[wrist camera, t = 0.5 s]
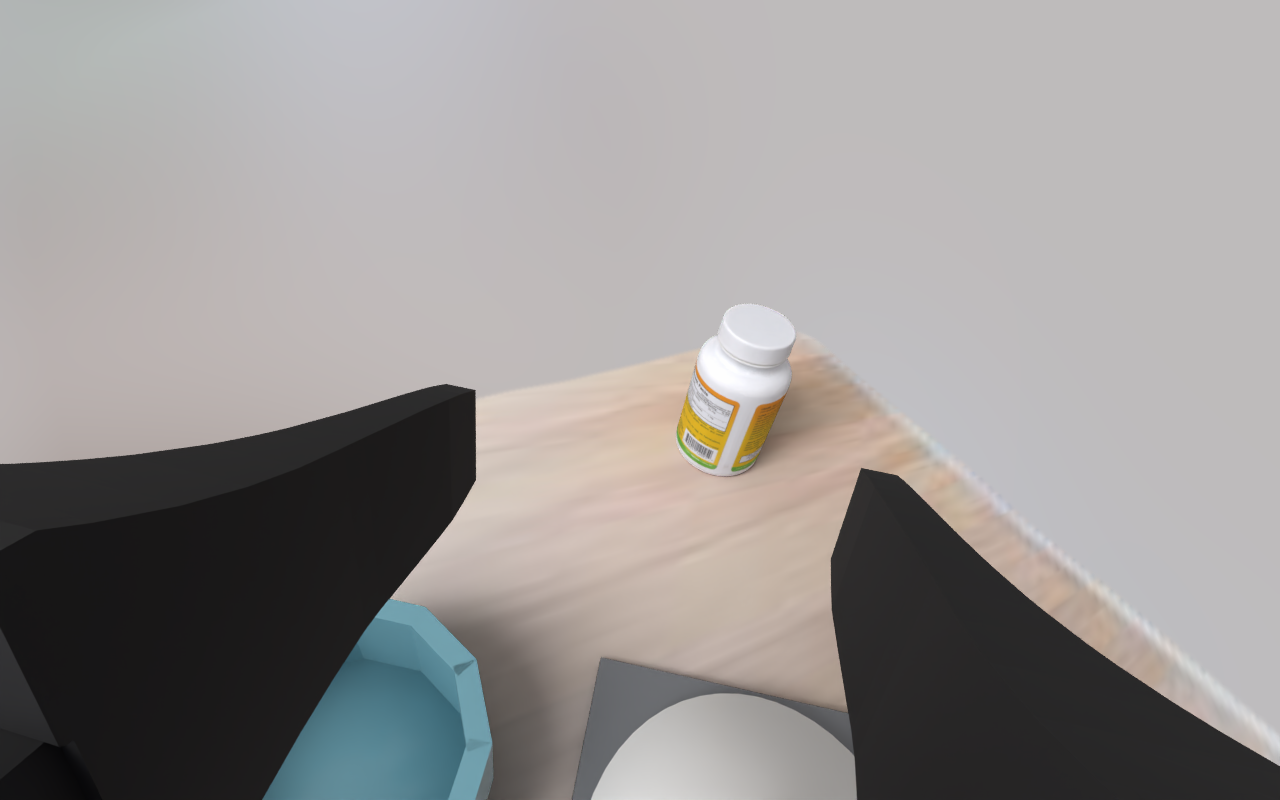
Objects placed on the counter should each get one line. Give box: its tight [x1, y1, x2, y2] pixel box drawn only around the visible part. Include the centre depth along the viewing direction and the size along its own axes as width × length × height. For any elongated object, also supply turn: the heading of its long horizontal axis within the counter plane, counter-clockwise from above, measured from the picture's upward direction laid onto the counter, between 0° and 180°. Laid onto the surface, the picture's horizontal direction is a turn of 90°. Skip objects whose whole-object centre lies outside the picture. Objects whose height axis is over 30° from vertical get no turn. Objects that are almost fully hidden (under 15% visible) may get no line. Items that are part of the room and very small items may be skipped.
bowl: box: [262, 599, 493, 800], centre depth 20 cm, size 11×11×5 cm
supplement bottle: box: [676, 304, 796, 476], centre depth 35 cm, size 5×5×10 cm
